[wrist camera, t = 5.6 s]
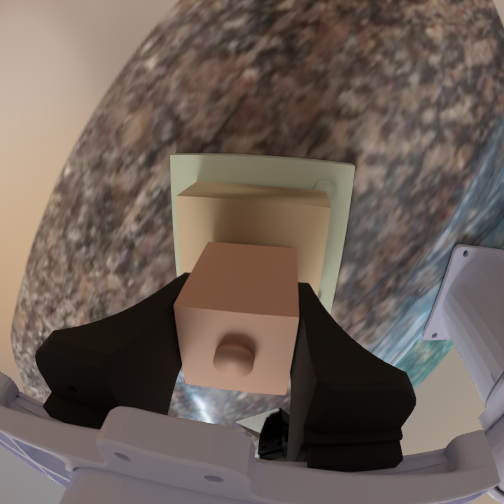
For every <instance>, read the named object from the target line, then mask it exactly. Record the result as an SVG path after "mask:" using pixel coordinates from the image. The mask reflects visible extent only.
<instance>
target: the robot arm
mask: <svg viewBox="0 0 504 504" xmlns="http://www.w3.org/2000/svg"><path fill="white" fill-rule="evenodd" d="M465 250H466V253H465V254H463V253H464V251H465ZM189 275H190V273H188V272H185V273H183V274H182V275H180V276H179V277H177V278H176V279H174V280H173V281H172V282H170V283H169V284H167V285H166V286H164V287H163V288H162V289H160V290H159V291H157V292H156V293H154V294H152V295H151V296H149V297H148V298H146V299H144V300H143V301H141V302H139V303H138V304H136V305H134V306H132V307H130V308H128V309H126V310H124V311H122V312H120V313H117V314H115V315H112V316H110V317H107V318H104V319H102V320H99V321H96V322H92V323H89V324H85V325H81V326H77V327H72V328H67V329H61V330H54V331H53V332H52V333H51V334H50V335H49V337H48V338H47V339H46V340H45V341H44V343H43V344H42V345H41V346H40V348H39V349H38V350H37V351H36V354H35V359H36V364H37V366H38V369H39V371H40V373H41V374H42V376H43V378H44V380H45V381H46V383H47V385H48V387H49V388H50V390H51V394H50V396H49V397H48V399H47V400H46V402H45V403H42V402H40V401H38V400H36V399H33V398H31V397H29V396H27V395H25V394H24V393H22V392H19V389H18V387H17V386H16V384H15V383H14V381H13V380H12V379H11V378H10V377H8V376H7V375H5V374H3V373H1V372H0V446H2V447H3V448H5V449H6V450H7V451H9V452H10V453H12V454H13V455H14V456H16V457H17V458H19V459H20V460H22V461H23V462H25V463H26V464H28V465H29V466H31V467H32V468H34V469H36V470H37V471H39V472H40V473H42V474H43V475H45V476H47V477H48V478H50V479H52V480H53V481H55V482H57V483H58V484H60V485H62V486H64V487H65V488H66V490H65V492H64V495H63V497H62V499H61V502H60V504H471V503H472V502H474V501H475V500H477V499H478V498H480V497H481V496H483V495H484V494H486V493H488V494H489V495H490V496H491V497H492V498H494V499H495V500H497V501H499V502H500V503H502V504H504V250H503V249H496V248H488V247H480V246H473V245H465V244H458V245H456V246H455V247H454V249H453V252H452V255H451V258H450V261H449V265H448V268H447V271H446V274H445V277H444V280H443V283H442V285H441V288H440V291H439V294H438V296H437V299H436V302H435V304H434V307H433V310H432V312H431V315H430V317H429V319H428V322H427V324H426V327H425V329H424V331H423V334H422V335H423V338H424V339H425V340H447V339H451V340H452V342H453V343H454V345H455V347H456V349H457V351H458V353H459V355H460V356H461V358H462V360H463V362H464V364H465V366H466V368H467V370H468V372H469V373H470V376H471V378H472V380H473V382H474V384H475V386H476V388H477V391H478V393H479V395H480V397H481V399H482V402H483V403H484V406H485V410H484V412H483V413H482V414H481V415H480V417H479V420H480V423H481V425H482V428H483V430H478V431H474V432H471V433H467V434H463V435H460V436H458V437H456V438H454V439H453V440H452V441H451V442H450V443H449V444H448V445H447V447H446V448H444V449H439V450H434V451H429V452H424V453H418V454H412V455H406V456H403V455H402V450H401V445H400V440H401V439H402V437H403V435H402V431H401V427H402V425H403V424H404V423H405V421H406V420H407V419H408V417H409V416H410V414H411V413H412V411H413V409H414V407H415V405H416V396H415V393H414V390H413V387H412V384H411V382H410V380H409V377H408V375H407V373H406V372H404V371H402V370H400V369H398V368H396V367H394V366H392V365H390V364H388V363H386V362H384V361H383V360H381V359H379V358H378V357H376V356H375V355H373V354H372V353H370V352H369V351H367V350H366V349H365V348H363V347H362V346H361V345H360V344H358V343H357V342H356V341H355V340H353V339H352V338H351V337H350V336H349V335H348V334H347V333H346V332H345V331H344V330H343V329H342V328H341V327H340V326H339V325H338V324H337V323H336V322H335V320H334V319H333V318H332V317H331V315H330V314H329V313H328V311H327V310H326V309H325V307H324V306H323V305H322V303H321V302H320V300H319V298H318V297H317V295H316V294H315V292H314V290H313V289H312V287H311V285H310V284H309V283H305V282H298V298H299V323H298V329H297V335H296V341H295V346H294V352H293V358H292V363H291V369H290V378H291V403H290V420H289V434H288V447H287V457H286V462H284V461H268V460H263V459H259V458H255V449H256V448H255V446H254V444H253V442H252V440H251V439H250V438H249V437H248V436H246V435H245V434H243V433H241V432H239V431H238V430H236V429H233V428H229V427H225V426H221V425H218V424H211V423H205V422H199V421H193V420H188V419H182V418H177V417H172V416H168V415H167V414H168V410H169V406H170V402H171V398H172V394H173V390H174V387H175V383H176V380H177V377H178V374H179V371H180V369H181V366H182V360H181V354H180V347H179V341H178V334H177V327H176V320H175V313H174V303H175V301H176V299H177V298H178V296H179V294H180V292H181V290H182V288H183V286H184V284H185V283H186V281H187V279H188V277H189ZM434 333H435V334H434Z"/></svg>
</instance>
